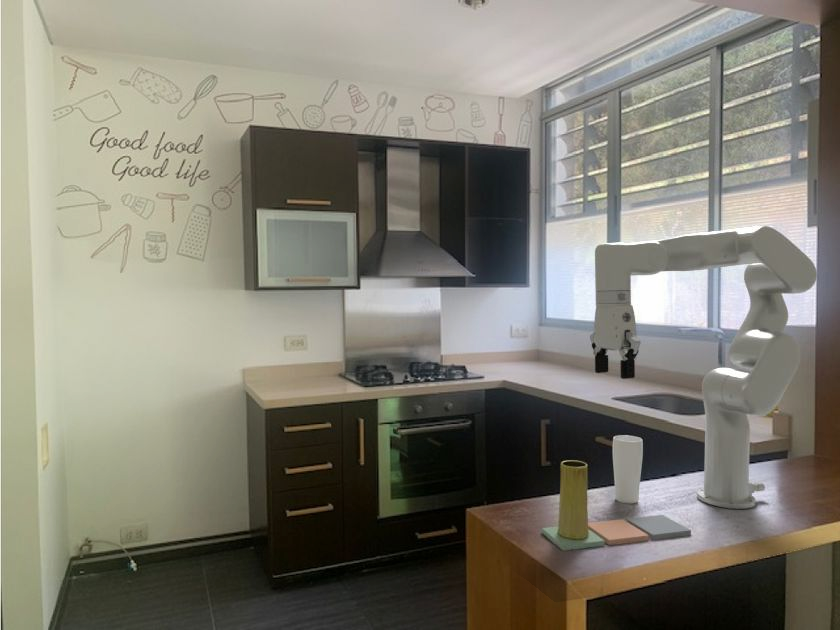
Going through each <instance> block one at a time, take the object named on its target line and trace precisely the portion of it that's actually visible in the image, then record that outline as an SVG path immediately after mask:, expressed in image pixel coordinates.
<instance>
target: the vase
mask: <svg viewBox="0 0 840 630" xmlns="http://www.w3.org/2000/svg"><path fill="white" fill-rule="evenodd" d="M559 487H560V488H559V490H560V491H559V504H558V505H559V507H558V525H557V526H558V534H559V535H561V536H562V537H565V538H568V539H584V538H587V537H588V535H589V532H588V523H589V515H588V514H589V513H588V512H589V511H588V464H587V463H586V462H584V461H581V460H580V461H579V460H574V459H573V460H572V459H571V460H570V459H569V460H563V461H561V462H560V486H559Z"/></svg>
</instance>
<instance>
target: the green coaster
mask: <svg viewBox="0 0 840 630" xmlns="http://www.w3.org/2000/svg"><path fill="white" fill-rule="evenodd" d="M588 532H589V535H588V537H587V538H584V539H568V538H565V537H562V536H561V535H559V534H558V525H557V526H550V527H542V528H541V534H543V535H544V536H545V537H546V538H548V539H549V541H551V542H552V543H553V544H554V545H555V546H557V547H558V548H560V549H561V550H562V551H570V550H571V549H573V550H578V549H579V548H581V549H588V547H589V548H597V547H603V546H605V544H606V543H605V540H603V539H602V538H600V537H599V536H597V535H596V534H595V533H593V532H592V531H590V530H589V529H588ZM579 550H580V549H579ZM571 551H572V550H571Z"/></svg>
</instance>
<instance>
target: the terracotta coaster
mask: <svg viewBox="0 0 840 630" xmlns="http://www.w3.org/2000/svg"><path fill="white" fill-rule="evenodd" d="M588 529H589V530H590V531H592V532H593V533H595V534H596V535H597V536H599V537H600V538H602V539H603V540H605V544H607V546H608V545H609V546H612V545H620V544H621V545H622V544H629V543H638V542H645V541H649V540H650V538H649V535H647V534H646V533H644V532H643V531H641V530H639V529H638V528H636V527H634V526H633V525H631V524H629V523H628V522H627V520H625V519H624V518H621V519H613V520H612V519H611V520H604V521H597V522H596V521H595V522H594V521H593V522H588Z"/></svg>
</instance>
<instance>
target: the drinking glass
mask: <svg viewBox="0 0 840 630" xmlns="http://www.w3.org/2000/svg"><path fill="white" fill-rule="evenodd" d="M643 445H644V444H643V439H642V438H641V437H639V436H634V435H627V434H624V435H623V434H621V435H620V434H619V435H615V436H613V439H612V465H613V478H614V480H613V481H614V498H615V500H616V501H617V502H619V503H621V504H629V505H631V504H636V503H638V502H639V500H640V499H639V498H640V497H639V495H640V483H641V475H642V474H641V473H642V465H643V456H644V454H643V453H644V452H643V451H644V449H643V448H644V447H643Z"/></svg>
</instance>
